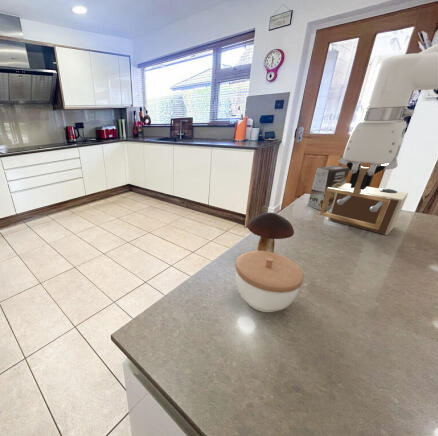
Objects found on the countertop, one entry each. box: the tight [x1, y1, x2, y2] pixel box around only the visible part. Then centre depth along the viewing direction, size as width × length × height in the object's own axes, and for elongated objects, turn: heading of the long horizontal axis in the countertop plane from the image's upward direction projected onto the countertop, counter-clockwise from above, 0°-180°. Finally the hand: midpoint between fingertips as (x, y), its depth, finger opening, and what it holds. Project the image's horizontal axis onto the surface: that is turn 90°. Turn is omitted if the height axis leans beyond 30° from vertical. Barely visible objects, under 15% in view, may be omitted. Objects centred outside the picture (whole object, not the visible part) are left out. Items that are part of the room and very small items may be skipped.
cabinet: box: [327, 182, 409, 236], centre depth 77 cm, size 16×18×12 cm
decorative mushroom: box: [246, 212, 295, 253], centre depth 61 cm, size 11×11×15 cm
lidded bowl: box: [234, 250, 305, 313], centre depth 50 cm, size 13×13×11 cm
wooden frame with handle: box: [319, 166, 391, 230], centre depth 66 cm, size 14×1×16 cm, turn 36°
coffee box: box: [307, 164, 351, 211], centre depth 93 cm, size 9×6×16 cm
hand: (358, 187), depth 65 cm, fingers closed on wooden frame with handle, 1 cm apart
